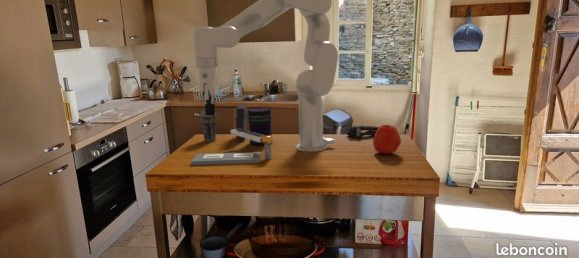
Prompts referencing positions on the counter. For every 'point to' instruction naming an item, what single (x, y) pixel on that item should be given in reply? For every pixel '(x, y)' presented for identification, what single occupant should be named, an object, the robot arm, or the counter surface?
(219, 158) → the label board
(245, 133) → the swing arm
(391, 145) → the apple
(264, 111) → the blue oil drum
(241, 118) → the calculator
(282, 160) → the counter surface
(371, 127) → the can opener
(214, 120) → the beverage cup
